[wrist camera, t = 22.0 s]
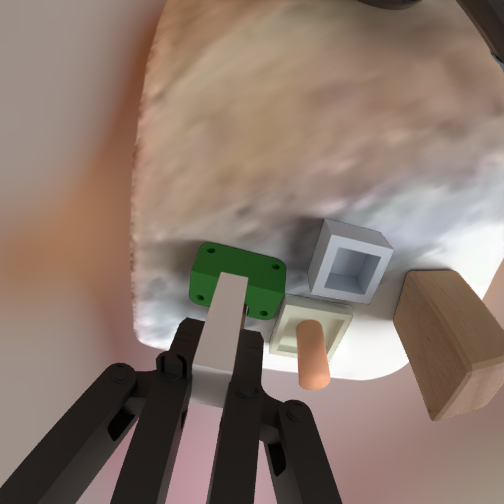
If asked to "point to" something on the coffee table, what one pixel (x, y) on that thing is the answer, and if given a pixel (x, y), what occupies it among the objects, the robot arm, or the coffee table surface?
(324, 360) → the peach rounded rod
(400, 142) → the coffee table surface
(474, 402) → the wooden block
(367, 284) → the socket
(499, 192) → the coffee table surface
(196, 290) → the clamp
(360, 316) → the coffee table surface
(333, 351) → the tray
